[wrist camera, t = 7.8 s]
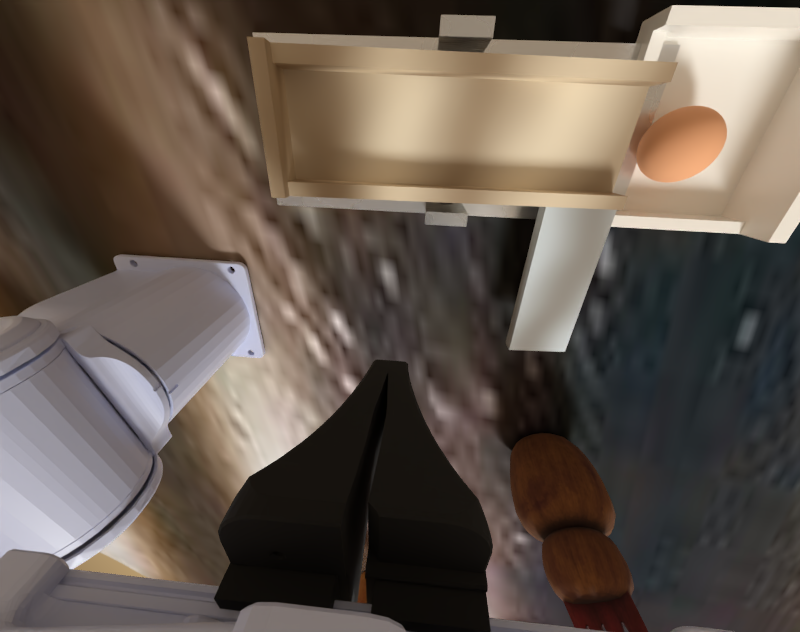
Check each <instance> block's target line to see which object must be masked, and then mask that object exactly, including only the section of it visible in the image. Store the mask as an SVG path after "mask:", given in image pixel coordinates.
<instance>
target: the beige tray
mask: <svg viewBox="0 0 800 632" xmlns="http://www.w3.org/2000/svg"><path fill="white" fill-rule="evenodd" d="M247 41H248V48H249V54H250V60H251V67H252V73H253V80H254V86H255V93H256V99H257V106H258V112H259V119H260V125H261V132H262V138H263V145H264V151H265V158H266V164H267V171H268V177H269V184H270V190H271V197H272V198H287V197H289V196H299V197H323V198H347V199H371V200H395V201H418V202H439V203H440V204H447V205H450V204H453V203H466V204H490V205H514V206H537V207H539V210H538V214H537V218H536V222H535V226H534V230H533V234H532V238H531V242H530V246H529V250H528V254H527V258H526V262H525V266H524V270H523V274H522V278H521V282H520V286H519V291H518V295H517V299H516V303H515V307H514V311H513V315H512V319H511V323H510V327H509V331H508V335H507V339H506V345H507V347H508V349H509V350H527V351H555V352H565V350H566V347H567V344H568V342H569V339H570V336H571V334H572V331H573V328H574V325H575V323H576V320H577V317H578V315H579V312H580V309H581V306H582V304H583V301H584V298H585V295H586V293H587V290H588V287H589V285H590V282H591V279H592V276H593V274H594V271H595V268H596V265H597V263H598V260H599V257H600V255H601V252H602V249H603V246H604V244H605V241H606V238H607V235H608V233H609V230H610V227H611V225H612V222H613V219H614V216H615V214H616V211H617V210H623V208H624V205H625V203H626V200H627V197H628V196H624V195H620V194H616V193H612V192H613V189H614V186H615V183H616V181H617V178H618V175H619V172H620V169H621V166H622V163H623V161H624V158H625V155H626V152H627V149H628V146H629V143H630V141H631V138H632V135H633V132H634V129H635V126H636V124H637V121H638V118H639V115H640V112H641V109H642V106H643V104H644V101H645V98H646V95H647V92H648V89H649V87H650V86H655V85H659V84H664V83H668V82H671V80H672V78H673V75H674V72H675V70H676V67H677V64H678V62H661V61H641V60H620V59H600V58H580V57H560V56H539V55H519V54H499V53H479V52H468V51H438V50H418V49H398V48H377V47H357V46H337V45H317V44H296V43H276V42H269V41H268V40H266V39H265V38H264V37H247Z"/></svg>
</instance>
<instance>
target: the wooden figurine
mask: <svg viewBox="0 0 800 632" xmlns="http://www.w3.org/2000/svg"><path fill="white" fill-rule="evenodd" d="M510 481H511V491H512V496H513V501H514V506H515V510H516V513H517V515H518V517H519V519H520V521H521V523H522V525H523V526H524V528H525V529H526V530H527V532H529V533H530V534H531V535H532V536H533V537H535V538H536V539H537V540H539V541H541V542H543V544H542V559H543V566H544V570H545V573H546V576H547V579H548V581H549V583H550V585H551V587H552V588H553V590H554V592H555V593H556V594H557V596H558V597H559V598H560V599H561V600H562V601H563V602H564V604H565V606H566V608H567V611H568V613H569V615H570V617H571V620H572V622H573V624H574V627H575V628H581V629H588V628H589V629H590V630H598V631H604V630H603V626H604V627H605V629H606V631H607V632H624V628H623V624H624V625H625V627H626V628H627V630H628V631H629V632H648V631H647V628H646V626H645V624H644V622H643V620H642V618H641V616H640V614H639V612H638V610H637V608H636V606H635V604H634V602H633V600H632V598H631V595H632V592H633V590H634V585H633V580H632V575H631V573H630V570H629V568H628V566H627V563H626V561H625V560H624V558H623V556H622V555H621V553H620V551H619V550H618V548H617V546H616V545H615V544H614V543H613V541H612V540H611V539H610V538H608V537H607V536H608V535H610V534H611V532H612V530H613V528H614V522H615V516H616V515H615V512H614V508H613V504H612V502H611V499H610V497H609V495H608V493H607V491H606V488H605V486H604V484H603V482H602V480H601V478H600V476H599V475H598V473H597V471H596V470H595V468H594V467H593V465H592V464H591V462H590V461H589V460H588V458H587V457H586V456H585V455H584V454H583V453H582V452H581V451H580V450H579V448H578V447H576V446H575V445H573V444H572V443H571V442H569V441H568V440H567V439H565V438H564V437H562V436H558V435H554V434H550V433H538V434H532V435H529V436H526V437H524V438H522V439H521V440H519V441H518V442H517V443H516V445H515V446H514V448H513V449H512V453H511V457H510Z"/></svg>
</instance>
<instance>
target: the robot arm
mask: <svg viewBox="0 0 800 632" xmlns="http://www.w3.org/2000/svg"><path fill="white" fill-rule="evenodd" d="M113 260H114V263H115V266H116V268H117V271H114V272H112V273H110V274H107V275H105V276H102V277H100V278H97V279H95V280H93V281H90V282H88V283H85V284H83V285H80V286H78V287H75V288H73V289H71V290H68V291H66V292H63V293H61V294H58V295H56V296H54V297H51V298H49V299H46V300H44V301H41V302H39V303H37V304H34V305H33V306H31V307H29V308H27V309H26V310H24V311H23V312H21V313H20V314H19V315H18V316H7V317H0V632H607V631H598V630H589V629H581V628H572V627H564V626H555V625H546V624H538V623H529V622H521V621H512V620H503V619H495V618H489V613H488V605H487V597H486V592H487V578H486V571H485V570H486V568H487V565H488V562H489V560H490V557H491V554H492V548H493V544H492V539H491V535H490V531H489V527H488V524H487V521H486V518H485V515H484V512H483V510H482V507H481V505H480V502H479V500H478V498H477V497H476V496H475V495H474V494H473V492H472V491H471V490H470V489H469V488H468V486H467V485H466V484H465V483H464V482H463V480H462V479H461V478H460V476H459V475H458V474H457V472H456V471H455V470H454V468H453V467H452V466H451V464H450V463H449V461H448V460H447V458H446V457H445V455H444V454H443V452H442V451H441V449H440V448H439V446H438V444H437V443H436V441H435V439H434V437H433V436H432V434H431V432H430V430H429V428H428V426H427V424H426V422H425V420H424V418H423V416H422V413H421V411H420V409H419V406H418V404H417V401H416V398H415V395H414V392H413V389H412V386H411V382H410V378H409V372H408V364H407V363H406V362H401V361H388V360H375V361H374V362H373V363H372V365H371V367H370V369H369V370H368V372H367V373H366V375H365V376H364V378H363V379H362V381H361V382H360V383H359V385H358V386H357V387H356V389H355V390H354V391H353V393H352V394H351V395H350V396H349V397H348V398H347V400H346V401H345V402H344V403H343V404H342V405H341V407H340V408H339V409H338V410H337V411H336V412H335V413H334V414H333V415H332V416H331V417H330V418H329V419H328V420H327V421H326V422H325V423H324V424H323V425H322V426H320V427H319V428H318V429H317V430H316V431H315V432H314V433H312V434H311V435H310V436H309V437H308V438H306V439H305V440H304V441H303V442H301V443H300V444H299V445H297V446H296V447H294V448H293V449H292V450H290V451H289V452H288V453H286V454H285V455H284V456H282V457H281V458H279V459H278V460H276V461H275V462H273V463H271V464H270V465H268V466H266V467H265V468H263V469H262V470H260V471H258V472H257V473H255V474H253V475H252V476H250V477H249V478H248V479H247V481H246V482H245V484H244V485H243V487H242V488H241V489H240V491H239V492H238V494H237V495H236V497H235V499H234V500H233V502H232V504H231V506H230V508H229V510H228V511H227V513H226V515H225V517H224V519H223V521H222V523H221V524H220V527H219V530H218V533H219V537H220V541H221V543H222V545H223V547H224V549H225V552H226V554H227V556H228V558H229V560H230V562H231V563H230V565H229V567H228V569H227V571H226V573H225V575H224V577H223V580H222V582H221V584H220V586H211V585H202V584H194V583H185V582H177V581H168V580H159V579H151V578H141V577H134V576H124V575H116V574H108V573H99V572H91V571H81V570H73V569H74V568H75V567H77V566H79V565H80V564H82V563H84V562H85V561H87V560H88V559H90V558H91V557H92V556H94V555H96V554H97V553H98V552H100V551H101V550H103V549H104V548H105V547H107V546H108V545H109V544H110V543H112V542H113V541H114V540H115V539H116V538H117V537H118V536H120V535H121V534H122V533H123V532H124V531H125V530H126V529H127V528H128V527H129V526H130V525H131V524H132V523H133V521H134V520H135V519H136V518H137V517H138V515H139V514H140V513H141V512H142V510H143V509H144V508H145V507H146V505H147V504H148V503H149V501H150V499H151V498H152V496H153V495H154V493H155V491H156V489H157V487H158V485H159V483H160V480H161V477H162V472H163V466H162V461H161V459H160V457H159V456H158V455H157V453H158V452H159V451H160V450H161V449H162V448H163V447H164V445H165V444H166V443H167V442H168V441H169V440H170V438H171V437H172V435H171V433H170V431H169V429H168V423H169V422H170V421H171V420H172V419H173V418H174V417H175V416H176V415H177V413H178V412H179V411H180V410H181V409H182V408H183V407H184V406H185V405H186V404H187V403H188V401H189V400H190V399H191V398H192V397H193V396H194V395H195V394H196V393H197V392H198V391H199V390H200V388H201V387H202V386H203V385H204V384H205V383H206V382H207V381H208V380H209V379H210V378H211V377H212V375H213V374H214V373H215V372H216V371H217V370H218V369H219V368H220V367H221V366H222V365H223V364H224V362H225V361H226V360H227V359H228V358H229V357H230V356H240V357H253V358H261V357H263V355H264V354H265V348H264V344H263V339H262V334H261V330H260V325H259V320H258V315H257V311H256V306H255V301H254V297H253V292H252V287H251V283H250V278H249V273H248V269H247V267H246V265H245V264H243V263H241V262H232V261H217V260H202V259H186V258H171V257H156V256H140V255H125V254H120V255H117V256H115V257H114V259H113ZM135 261H136V262H137V264H138V265H137V264H136V263H135ZM230 267H233V268H234V270H235V272H234V271H232V270H231V268H230ZM251 350H252V351H253V352H251ZM367 523H368V531H369V549H368V556H367V563H366V570H365V579H366V597H367V604H366V603H357V601H358V593H359V585H360V577H361V569H362V561H363V553H364V545H365V538H366V530H367ZM670 632H733V631H729V630H720V629H711V628H702V627H694V626H683V627H678V628H675V629H673V630H672V631H670Z"/></svg>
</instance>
